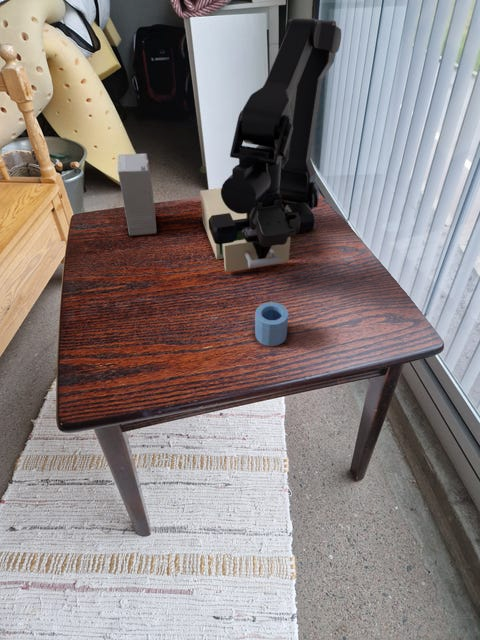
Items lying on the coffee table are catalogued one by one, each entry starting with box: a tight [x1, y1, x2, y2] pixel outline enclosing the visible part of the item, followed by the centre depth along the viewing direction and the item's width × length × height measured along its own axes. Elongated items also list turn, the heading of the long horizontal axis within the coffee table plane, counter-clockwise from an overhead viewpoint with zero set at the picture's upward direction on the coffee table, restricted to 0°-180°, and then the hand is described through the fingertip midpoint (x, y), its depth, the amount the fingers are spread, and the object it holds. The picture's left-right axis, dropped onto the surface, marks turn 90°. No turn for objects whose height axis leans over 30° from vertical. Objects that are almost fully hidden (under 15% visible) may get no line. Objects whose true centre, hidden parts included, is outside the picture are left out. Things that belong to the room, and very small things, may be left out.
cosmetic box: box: [117, 153, 157, 237], centre depth 94 cm, size 8×7×16 cm
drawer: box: [220, 231, 292, 273], centre depth 87 cm, size 19×13×6 cm
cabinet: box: [199, 187, 246, 260], centre depth 93 cm, size 16×15×8 cm
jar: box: [254, 301, 289, 347], centre depth 71 cm, size 5×6×5 cm
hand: (261, 261), depth 82 cm, fingers closed, pressing on drawer
